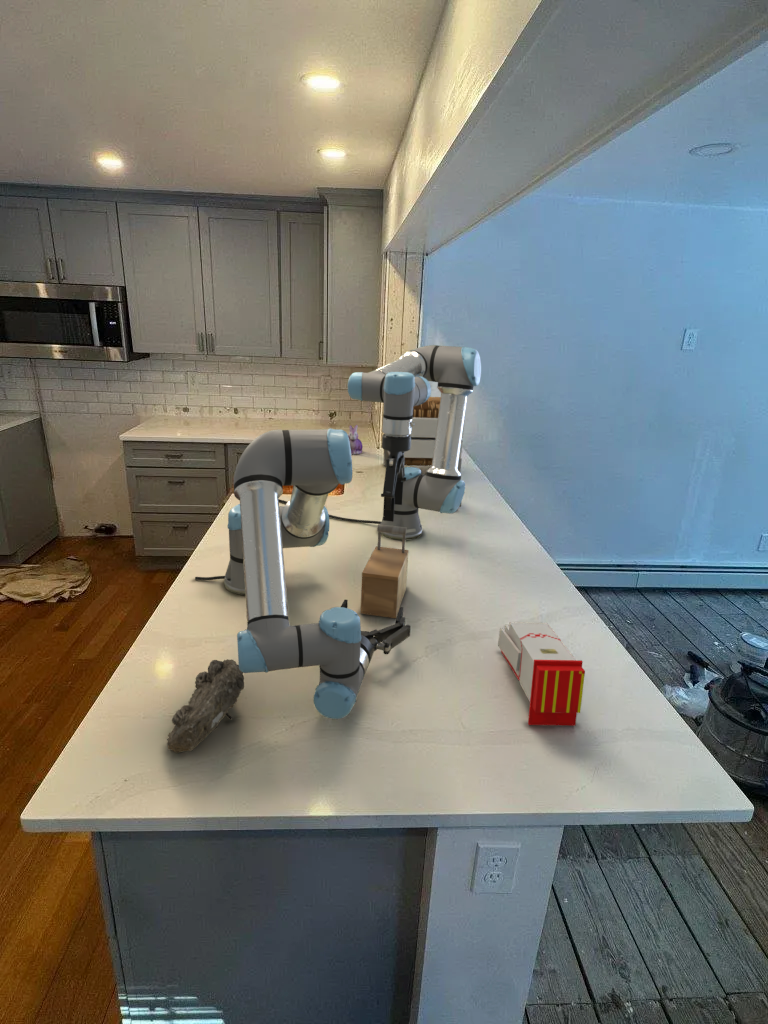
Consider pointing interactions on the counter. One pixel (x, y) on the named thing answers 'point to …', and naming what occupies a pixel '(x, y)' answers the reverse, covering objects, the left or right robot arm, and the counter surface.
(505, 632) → the toy
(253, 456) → the left robot arm
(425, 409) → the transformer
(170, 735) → the fossil
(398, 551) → the lid
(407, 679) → the counter surface
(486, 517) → the counter surface
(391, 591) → the chest
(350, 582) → the counter surface
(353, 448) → the figurine
